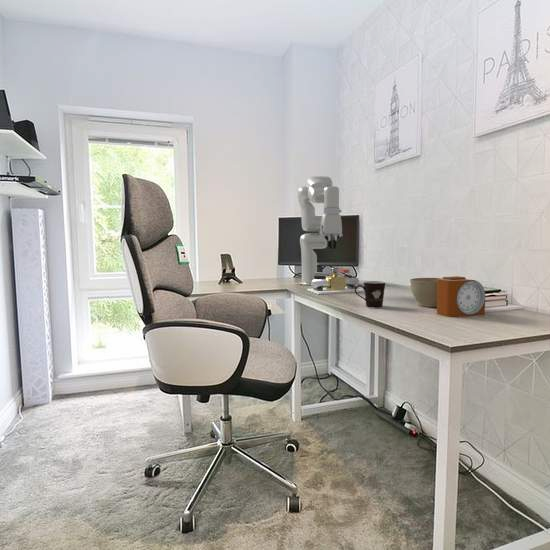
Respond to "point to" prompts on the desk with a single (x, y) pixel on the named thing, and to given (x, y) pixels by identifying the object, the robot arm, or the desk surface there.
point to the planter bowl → (425, 291)
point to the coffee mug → (373, 293)
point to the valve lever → (340, 270)
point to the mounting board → (336, 291)
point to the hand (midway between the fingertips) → (331, 248)
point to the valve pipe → (334, 283)
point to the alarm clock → (460, 297)
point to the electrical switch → (320, 275)
